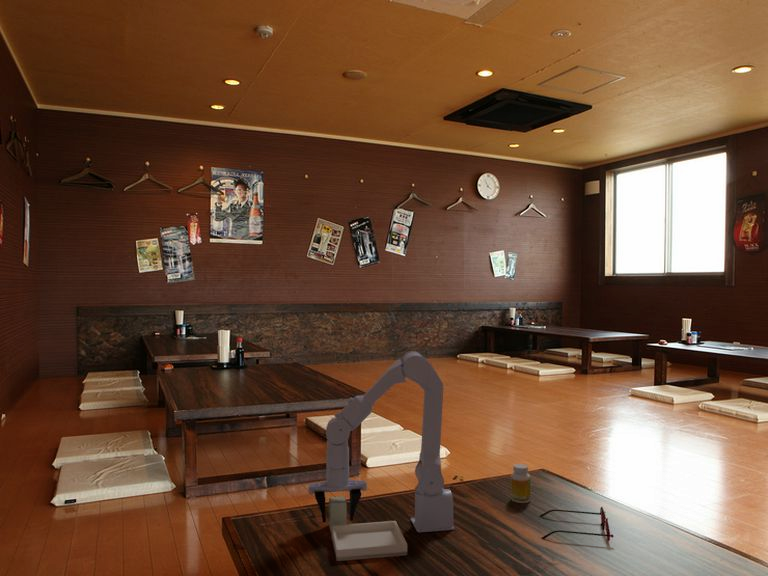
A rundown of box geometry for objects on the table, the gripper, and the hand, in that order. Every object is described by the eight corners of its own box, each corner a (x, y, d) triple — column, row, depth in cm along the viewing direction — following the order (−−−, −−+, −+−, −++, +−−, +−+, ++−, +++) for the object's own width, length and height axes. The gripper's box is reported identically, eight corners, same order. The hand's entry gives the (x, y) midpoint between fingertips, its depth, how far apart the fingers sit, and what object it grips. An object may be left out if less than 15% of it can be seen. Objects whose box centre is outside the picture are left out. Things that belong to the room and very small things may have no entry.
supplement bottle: (530, 504, 161) (530, 469, 161) (510, 502, 162) (511, 468, 162) (529, 497, 166) (529, 463, 166) (510, 495, 168) (510, 462, 167)
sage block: (344, 523, 148) (344, 496, 148) (346, 530, 144) (346, 502, 144) (329, 524, 147) (329, 497, 147) (330, 531, 144) (330, 503, 143)
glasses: (613, 547, 136) (613, 526, 136) (541, 540, 140) (541, 520, 140) (605, 523, 150) (605, 504, 149) (538, 517, 153) (538, 498, 153)
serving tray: (395, 530, 144) (395, 520, 144) (407, 555, 131) (407, 544, 131) (331, 535, 141) (331, 525, 141) (336, 561, 128) (336, 550, 128)
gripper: (363, 459, 151) (363, 511, 151) (307, 462, 148) (307, 515, 148) (368, 468, 144) (367, 522, 144) (309, 471, 141) (309, 527, 141)
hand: (337, 519), depth 146 cm, fingers open, 6 cm apart
